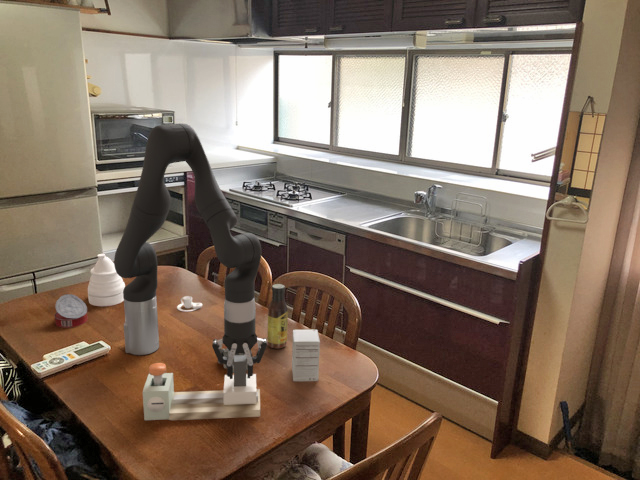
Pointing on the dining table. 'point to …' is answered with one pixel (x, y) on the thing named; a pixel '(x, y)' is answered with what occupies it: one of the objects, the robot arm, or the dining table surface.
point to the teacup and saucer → (189, 304)
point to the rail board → (209, 406)
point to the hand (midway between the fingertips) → (240, 376)
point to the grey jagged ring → (226, 352)
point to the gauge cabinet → (158, 397)
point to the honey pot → (105, 284)
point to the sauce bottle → (277, 318)
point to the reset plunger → (157, 372)
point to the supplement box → (305, 355)
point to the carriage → (239, 384)
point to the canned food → (70, 311)
